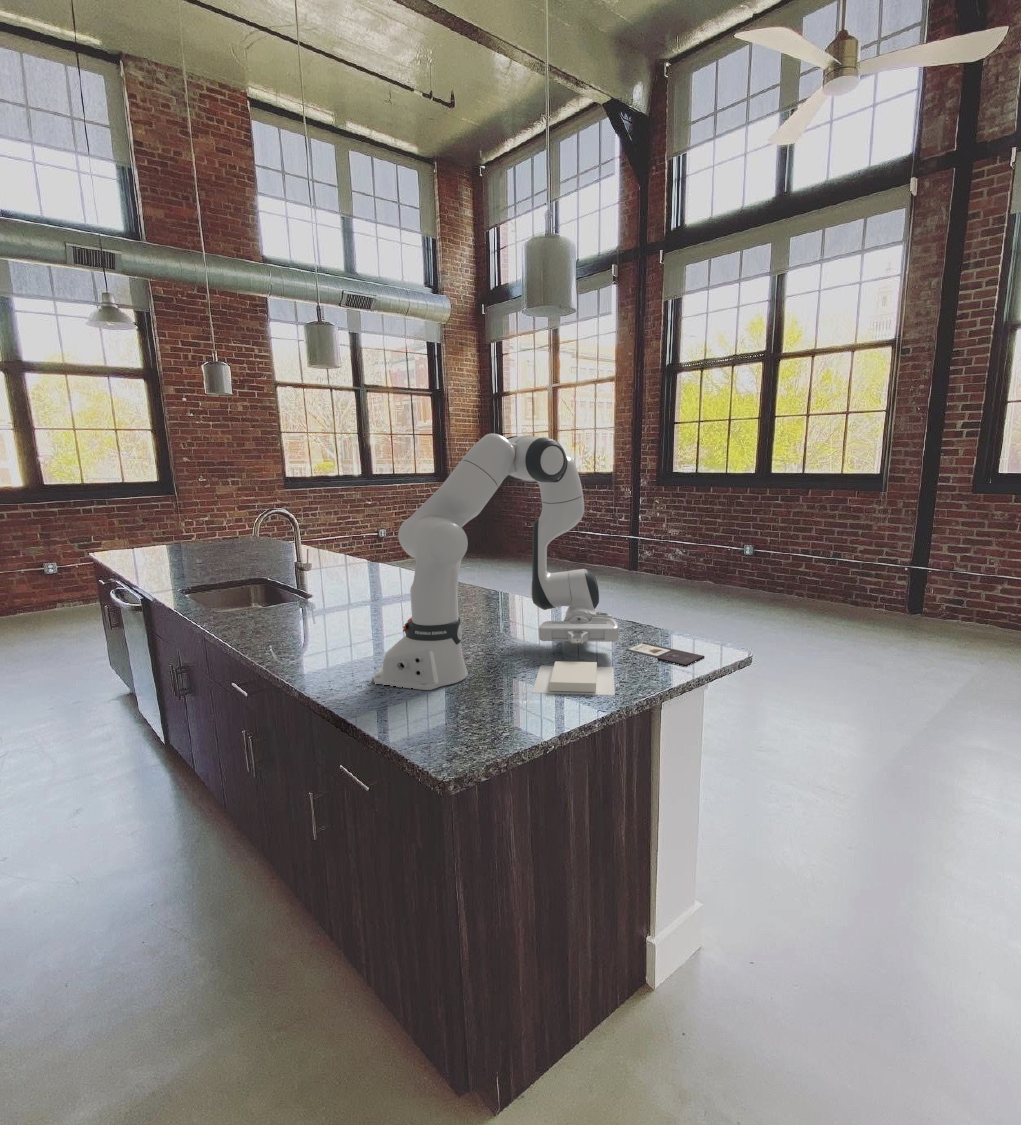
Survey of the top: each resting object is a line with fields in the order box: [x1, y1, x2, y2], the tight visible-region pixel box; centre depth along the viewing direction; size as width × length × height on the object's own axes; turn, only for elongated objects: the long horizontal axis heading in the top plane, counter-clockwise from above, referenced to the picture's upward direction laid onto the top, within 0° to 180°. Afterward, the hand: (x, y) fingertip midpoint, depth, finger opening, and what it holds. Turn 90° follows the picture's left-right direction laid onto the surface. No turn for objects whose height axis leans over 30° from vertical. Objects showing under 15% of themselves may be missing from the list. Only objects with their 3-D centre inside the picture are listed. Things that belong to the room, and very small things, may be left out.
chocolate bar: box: [625, 642, 705, 667], centre depth 156 cm, size 9×1×18 cm
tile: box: [550, 661, 598, 692], centre depth 137 cm, size 10×2×14 cm
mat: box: [531, 665, 616, 696], centre depth 139 cm, size 18×18×1 cm
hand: (577, 640), depth 146 cm, fingers closed
